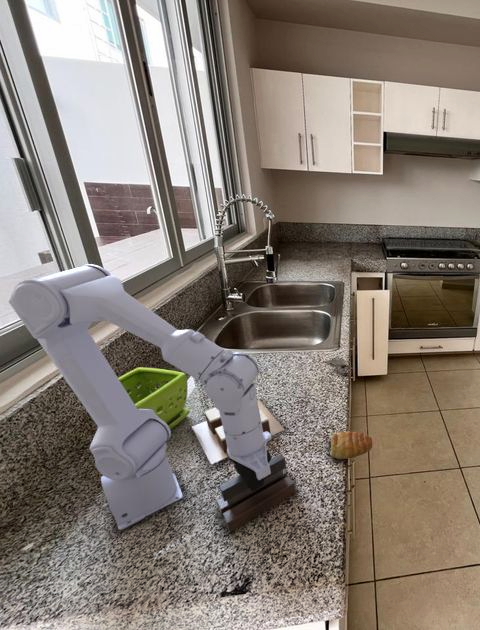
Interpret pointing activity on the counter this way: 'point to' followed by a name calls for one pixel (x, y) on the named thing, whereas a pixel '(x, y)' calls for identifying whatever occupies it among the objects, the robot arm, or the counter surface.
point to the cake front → (221, 434)
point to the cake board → (211, 441)
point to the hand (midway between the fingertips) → (255, 483)
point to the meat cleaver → (338, 365)
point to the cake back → (213, 419)
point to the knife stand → (256, 503)
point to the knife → (240, 491)
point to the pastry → (349, 444)
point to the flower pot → (158, 392)
